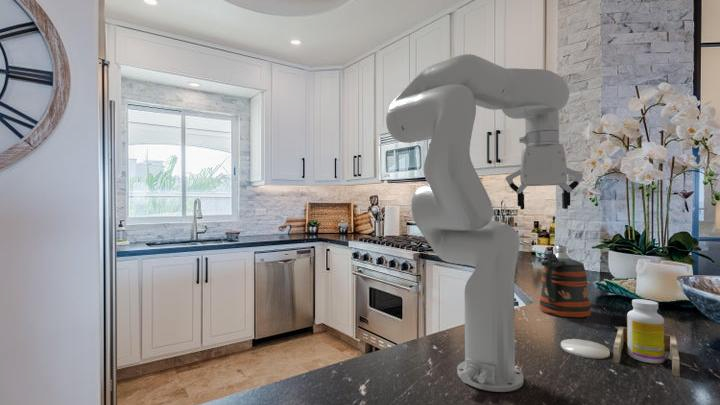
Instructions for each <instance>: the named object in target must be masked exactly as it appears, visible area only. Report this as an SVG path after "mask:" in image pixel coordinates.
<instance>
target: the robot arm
mask: <svg viewBox="0 0 720 405" xmlns="http://www.w3.org/2000/svg"><path fill="white" fill-rule="evenodd" d="M569 90H570V89H569V86H568V84H567V82H566V80H565V79H564V78H563V77H562V76H560V75H559V74H557V73H555V72H554V71H551V70H548V69H542V68H541V69H540V68H518V67H517V68H510V67H509V68H507V67H506V68H505V67H503V66H501V65H498V64H496V63H494V62H491V61H489V60H487V59H485V58H483V57H481V56H478V55H475V54H472V53H471V54H470V53H468V54H465V53H464V54H460V55H458V56H454V57H451V58H449V59H446V60H443V61H441V62H440V61H439V62H438V63H434V64H432V65H430V66H429V65H428V66H427V67H426V68H424V69H423V70H421V71H420V72H419V73H418V74H417V75H416V76H415V77H413V79H411V81H410V82H409V83H408V84H407V85H406V86H405V88H404V89H402V91H401V92H400V93H399V94H398V95H397V96H396V97H395V98H394V99H393V101H392V102H391V103H390V105H389V107H388V109H387V112H386V117H385V123H386V128H387V130H388V133H389V134H390V136H391V137H392V138H393V139H394V140H396V141H397V142H399V143H403V144H405V143H406V144H410V143H411V144H412V143H416V142H423V141H428V140H430V144H429V147H428V151H427V153H426V157H425V159H424V163H423V175H424V178H425V181H426V184H423V185H421V186H420V187H418V188H417V189H416V190H415V192H414V193H413V194H412V198H411V215H412V218H413V221H414V222H415V223H414V224H415V225H416V227H417V228H418V230H419V231H420V233H421V234H422V236H423V237H424V239H425V240H426V242H427V243H428V245H429V246H430V248H431V249H432V251H433V252H434V253H435V254H436V255H437V257H438V258H439V259H440V260H442V261H444V262H447V263H450V264H456V265H464V266H470V267H474V268H475V269H474V271H473V272H472V274H471V275H470V277H469V278H468V280H467V281H466V284H465V285H464V294H463V295H464V361H462V362H460V363H459V364H458V365H457V368H456V369H457V371H456V373H457V377H458V378H459V379H460V380H461V382H462V383H464V384H467V385H469V386H471V387H474V388H476V389H478V390H481V391H482V390H483V391H488V392H494V393H506V392H507V393H508V392H514V391H516V390H518V389H520V388H521V387H522V386H524V375H523V373H522V372H521V371H520V370H519V369H518V368H517V367H516V360H515V359H516V358H515V357H516V356H515V355H516V349H515V348H516V347H515V344H516V343H515V342H516V341H515V340H516V339H515V338H516V337H515V336H516V335H515V334H516V332H515V331H516V330H515V329H516V328H515V327H516V326H515V325H516V324H515V281H516V280H515V278H516V276H515V275H516V270H517V262H518V257H519V254H520V251H519V250H520V237H519V233H518V232H517V230H516V229H515V228H514V227H513V226H511V225H510V224H508V223H505V222H503V221H498V220H497V221H496V220H493V216H494V207H493V204H492V201H491V199H490V198H491V197H490V196H489V194H488V192H487V191H486V189H485V186H484V185H483V182H482V180H481V179H480V177H479V174H478V172H477V171H476V169H475V166H474V164H473V163H472V162H473V161H472V160H471V155H470V153H471V152H470V151H471V149H470V148H471V140H472V134H473V129H474V124H475V121H476V120H475V119H476V115H477V114H476V113H477V107H481V108H484V109H487V110H493V111H495V110H496V111H497V110H501V111H502V113H503V114H504V115H505V116H507V117H508V118H510V119H513V120H515V119H516V120H517V119H519V120H520V119H524V122H525V123H524V124H525V125H524V126H525V132H524V133H525V135H524V136H521V137H518V138H519V140H518V142H519V143H522V144H524V145H525V146H523V147H522V151H521V158H520V169H518V170H516V171H515V172H513V173H511V174H509V175H507V176H505V180H506V183H507V184H508V186H509V187H510V189H511V190H513V191H514V192H515V193H516V194H517V207H520V210H525V193H524V190H525V189H526V188H527V187H540V186H542V187H544V186H559V187H560V188H561V189H562V190H563V191H562V193H561V206H562V209H563V210H568V209H569V206H571V192H572V191H573V190H574V189H575V188H577V186H579V184H580V182H581V181H582V179H583V177H584V174H583V173H581V172H579V171H576V170H574V169H572V168H569V167H567V159H566V152H565V151H566V150H565V146H564V144H563V143H560V115H559V114H560V110H562V109H563V108H565V107H566V106H567V105H568V104H567V103H568V102H569V98H570V91H569ZM519 176H520V177H519ZM568 176H572V177H573V180H572V182H571V183H570V184H568V183H567V181H568ZM517 177H519V178H520V185H519V187H518V186H517V185H516V184H515V182H514V181H513V180H514V179H516V178H517Z"/></svg>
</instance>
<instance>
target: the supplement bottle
mask: <svg viewBox="0 0 720 405" xmlns="http://www.w3.org/2000/svg"><path fill="white" fill-rule="evenodd" d="M631 305H632V307H633V308H632V310H629V311H628V312H627V315H626V322H627V323H626V324H627V325H626V328H627V343H626V344H627V355H628V356H629V357H630V358H632V359H634V360H637V361H639V362H643V363H648V364H655V365H656V364H662V363H664V362H665V359H666V358H665V356H666V355H665V354H666V353H665V351H666V350H664V334H665V319H664V317H663V316H662V315H661V314H659V312H658V310H659V302H657V301H653V300H650V299H649V300H648V299H642V298H637V299H636V298H635V299H632V300H631Z"/></svg>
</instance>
